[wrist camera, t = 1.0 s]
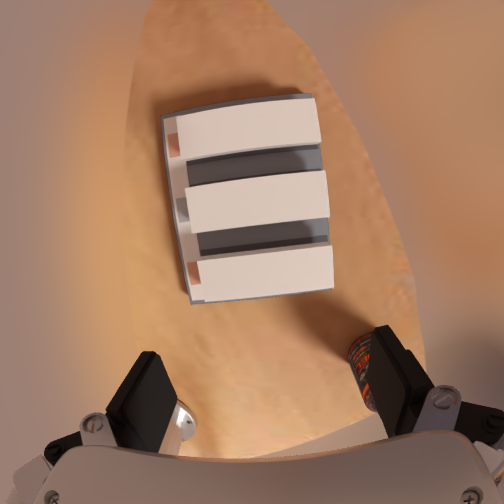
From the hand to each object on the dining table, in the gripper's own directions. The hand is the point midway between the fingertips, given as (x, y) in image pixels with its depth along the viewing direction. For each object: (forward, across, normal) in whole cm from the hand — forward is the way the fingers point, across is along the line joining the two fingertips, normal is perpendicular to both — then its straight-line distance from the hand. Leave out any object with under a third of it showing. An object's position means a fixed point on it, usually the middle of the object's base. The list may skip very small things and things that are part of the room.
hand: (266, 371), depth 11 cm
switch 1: (+16, 0, -12) cm, 20 cm away
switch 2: (+15, 0, +1) cm, 15 cm away
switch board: (+18, +1, -6) cm, 19 cm away
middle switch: (+16, 0, -6) cm, 17 cm away
